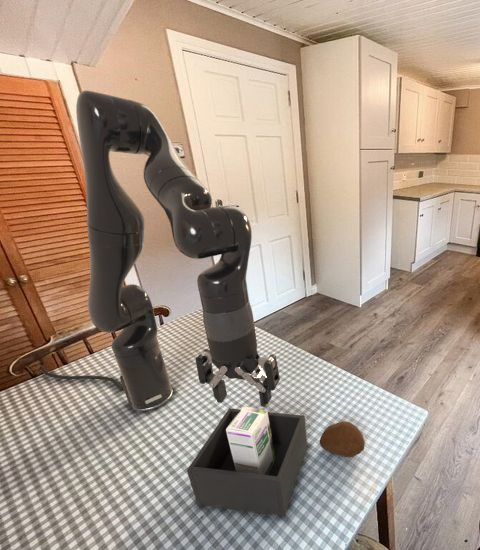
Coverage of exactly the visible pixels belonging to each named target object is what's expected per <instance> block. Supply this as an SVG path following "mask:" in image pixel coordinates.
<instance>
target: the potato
mask: <svg viewBox="0 0 480 550" xmlns="http://www.w3.org/2000/svg"><path fill="white" fill-rule="evenodd" d="M365 443H366V442H365V439H364V435H363V433H362V432H361V431H360V429H359V428H358V426H356V425H355V424H353V422H350V421H347V420H344V421H338V422H336V423H333V424H330V425H328V426H327V427H326V428H325V429H324V431H322V434H321V436H320V439H319V445H320V448H322V449H323V450H325V451H326V452H328V453H330V454H332V455H335V456H340V457H343V458H347V459H350V458H354V457H356V456H358V455H360V454H361V453H362V452H364V450H365V447H366V446H365V445H366V444H365Z"/></svg>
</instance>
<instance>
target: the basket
mask: <svg viewBox="0 0 480 550" xmlns="http://www.w3.org/2000/svg"><path fill="white" fill-rule="evenodd" d="M241 409H242V408H241ZM241 409H240V408H230V407H229V408H228V409H227V410H226V412H225V414H224V415H223V417H222V418H221V419H220V421H219V422H218V423H217V425H216V426H215V428H214V429H213V431H212V432H211V434H210V435H209V437H208V438H207V440H206V441H205V443H204V444H203V446H202V447H201V449H200V450H199V451H198V453H196V456H195V457H194V459H193V460H192V461H191V463H190V465H189V466H188V467H187V469H186V473H187V476H188V479H189V483H190V486H191V489H192V493H193V496H194V499H195V502H196V505H197V506H202V507H208V508H209V507H211V508H217V509H225V510H232V511H233V510H234V511H241V512H247V513H257V514H264V515H272V516H277V517H278V516H279V517H286V515H287V512H288V508H289V505H290V503H291V500H292V496H293V494H294V490H295V487H296V485H297V482H298V479H299V475H300V472H301V468H302V465H303V463H304V459H305V456H306V453H307V450H308V437H307V427H306V416H305V415H303V414H293V413H283V412H282V413H281V412H272V411H267V412H268V418H269V424H270V430H271V436H272V441H273V447H274V453H275V459H276V461H275V462H274V464H273V466H272V468H271V470H270V472H269V474H268V475H260V474H252V473H243V472H236V469H235V465H234V461H233V457H232V453H231V449H230V445H229V441H228V436H227V432H226V429H227V427H228V426H229V425H230V423H231V422H232V421H233V419H234V418H235V417H236V416H237V414H238V413H239V412H240V411H241Z"/></svg>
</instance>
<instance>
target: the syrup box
mask: <svg viewBox="0 0 480 550" xmlns="http://www.w3.org/2000/svg"><path fill="white" fill-rule="evenodd" d="M268 412H269V411H268V410H265V409H260V408H255V407H247V406H242V407H241V411H240V412H239V413H238V414H237V416H236V417H235V418H234V419H233V421H232V422H231V423H230V425H229V426H228V427H227V429H226V432H227V436H228V441H229V445H230V449H231V453H232V457H233V461H234V465H235V469H236V472H243V473H252V474H260V475H268V474H269V472H270V470H271V468H272V466H273V464H274V462H275V461H276V459H275V453H274V447H273V441H272V436H271V430H270V424H269V418H268Z"/></svg>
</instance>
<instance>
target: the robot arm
mask: <svg viewBox="0 0 480 550" xmlns="http://www.w3.org/2000/svg"><path fill="white" fill-rule="evenodd" d="M75 107H76V108H75V109H76V110H75V113H76V123H77V124H76V125H77V130H78V138H79V143H80V152H81V158H82V163H83V169H84V177H85V178H84V179H85V194H86V196H85V197H86V226H87V239H88V247H89V263H90V264H89V265H90V268H89V269H90V272H89V274H90V275H89V286H88V299H87V310H88V314H89V318H90V320H91V322H92V324H93V326H94V327H95V328H96V329H97V330H98V331H100V332H102V333H106V334H113V333H116V332H119V331H120V332H119V333H118V334H117V336H115V338H114V339H113V340H112V341H111V349H112V353H113V355H114V358H115V360H116V363H117V367H118V369H119V371H120V376H119V380H120V382H119V381H117V380H116V379H115V378H112V377H109V376H103V375H102V376H101V375H59V374H55V373H52V372H49V371H48V370H47V368H46V367H45V365H43V364H41V365H40V366H39V370H41V371H42V372H43V374H44V375H45V376H47V377H50V378H53V379H54V378H55V379H61V380H102V381H109V382H111V383H113V384H114V385H115V386H116V388H118V389H119V390H120V391H124V395H125V397H126V399H127V402H128V405H129V406H131V407H132V409H133V410H135V411H137V412H149V411H153V410H155V409H157V408H159V407H161V406H163V405H165V404H166V403H167V402H168V401H169V400H170V399H171V398H172V397H173V395H174V389H173V387H172V385H171V380H170V377H169V374H168V371H167V367H166V363H165V359H164V356H163V352H162V350H161V346H160V342H159V340H158V333H159V329H158V325H157V321H156V316H155V310H154V306H153V303H152V300H151V297H150V296H149V294H148V292H147V291H146V290H145V289H144V288H143V287H142V286H140V285H137V284H134V283H129V284H126V285H124V283H125V280H126V279H127V277H128V275H129V273H130V272H131V270H132V269H133V267H134V265H135V264H136V263H137V261H138V260H139V258H140V256H141V254H142V252H143V250H144V247H145V239H146V238H145V235H146V221H145V220H146V219H145V216H144V214H143V212H142V209H140V207H139V206H138V204H137V203H136V202H135V201H134V199H133V198H132V197H131V196H130V194H129V193H128V192H127V191H126V190H125V188H124V187H123V186H122V185H121V183H120V181H119V180H118V178H117V177H116V175H115V173H114V171H113V167H112V165H111V159H110V153H111V152H112V153H115V152H116V153H121V154H122V153H123V154H131V155H146V156H147V160H146V161H145V164H144V165H143V171H142V173H143V175H142V176H143V180H144V184H145V186H146V188H147V190H148V191H149V193H150V194H151V195H152V197H153V198H154V200H156V202H157V203H158V204H159V205H160V207H161V208H162V209H163V211H164V213H165V215H166V218H167V220H168V223H169V226H170V230H171V235H172V239H173V242H174V245H175V246H176V249H177V250H178V251H179V252H180V253H181V254H182V255H183V256H185V257H187V258H189V259H193V260H204V259H208V258H212V257H215V256H219V255H220V257H219V259H218V261H217V262H215V263H214V264H213V265H211V266H210V267H208V268H206V269H204V270H202V271H201V272H200V273H199V275H198V276H197V279H196V283H197V290H198V292H199V293H198V294H199V298H200V299H199V300H200V304H201V307H202V308H201V309H202V323H203V326H204V331H205V337H206V340H207V345H208V348H204V349H203V350H202V351H201V352H200V353H199V354H198V355H197V356H196V357H195V364H196V370H197V376H198V381H199V383H200V384H201V385H205V384H208V386H209V387H210V388H211V389H212V393H213V398H214V399H215V400H216V402H217V403H218V404H222V403H223V402H224V401H225V399H226V398H227V396H228V392H227V387H226V381H225V379H223V378H224V376H225V377H226V378H227V379H230V380H234V379H237V380H241V381H246V382H247V383H248V384H249V385H250V386H254V387H255V388H256V390H258V397H259V402H260V407H262V408H266V407H267V405H269V403H270V401H271V400H272V398H273V397H272V395H273V394H272V391H275V389H276V388H277V386H278V384H279V383H280V381H281V377H280V372H279V371H280V370H279V366H278V361H277V360H278V359H277V356H276V354H269V355H268V357H266V356H265V357H264V356H262V357H261V356H260V354H259V353H258V341H257V333H256V327H255V320H254V313H253V309H252V305H251V302H250V296H249V289H248V283H247V273H248V272H247V271H248V266H249V259H250V254H251V246H252V240H253V239H252V238H253V235H252V233H253V232H252V226H251V222H250V220H249V217H248V216H247V214H246V213H245V211H243V210H242V209H241V208H239V207H238V206H236V205H219V206H212V204H213V199H212V195H211V193H210V192H209V190H208V188H207V187H206V186H205V184H203V183H202V181H201V180H200V179H199V178H198V177H197V176H196V175H195V174H194V172H193V171H192V170H191V169H190V168H189V167H188V166H187V165H186V163H185V162H184V161H183V160H182V159H181V156H180V154H179V153H178V151H177V150H176V147H175V146H174V144H173V142H172V140H171V138H170V137H169V135H168V133H167V132H166V130H165V128H164V126H163V125H162V123H161V121H160V120H159V118H158V117H157V115H156V114H155V113H154V111H153V110H152V109H151V108H150V107H148V106H147V105H146V104H144V103H141V102H139V101H136V100H132V99H127V98H125V97H119V96H115V95H110V94H107V93H102V92H98V91H92V90H83V91H81V92H80V93H78V96H77V99H76V105H75ZM213 365H214V366H215V367H216V368H217V369H218V370H217V371H216V373H214V369H213ZM48 372H49V373H48ZM254 372H255V374H254V375H252V374H253V373H254ZM120 383H121V384H120Z"/></svg>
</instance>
